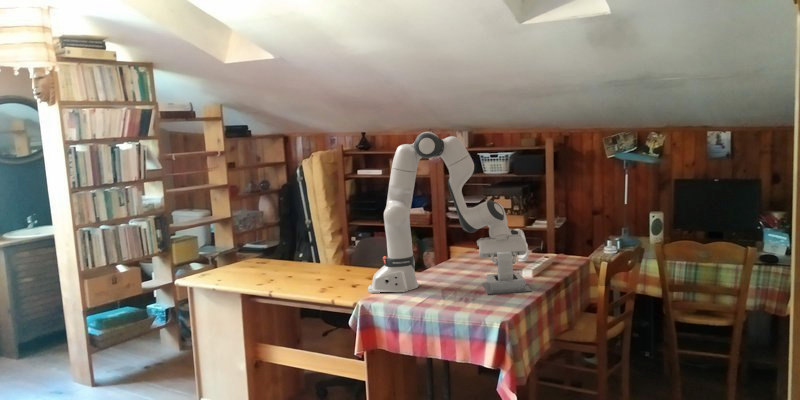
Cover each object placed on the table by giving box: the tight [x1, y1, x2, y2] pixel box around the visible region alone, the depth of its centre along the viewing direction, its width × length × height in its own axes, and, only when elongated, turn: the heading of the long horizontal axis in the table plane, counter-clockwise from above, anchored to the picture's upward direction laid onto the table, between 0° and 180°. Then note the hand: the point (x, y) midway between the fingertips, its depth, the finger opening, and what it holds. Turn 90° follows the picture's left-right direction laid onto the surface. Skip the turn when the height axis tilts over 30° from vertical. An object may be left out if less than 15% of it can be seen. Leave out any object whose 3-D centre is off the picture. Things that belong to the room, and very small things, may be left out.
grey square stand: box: [481, 271, 532, 296], centre depth 275 cm, size 18×18×5 cm
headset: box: [512, 228, 530, 262], centre depth 312 cm, size 20×7×18 cm, turn 140°
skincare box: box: [496, 251, 514, 281], centre depth 274 cm, size 6×4×12 cm
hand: (505, 263), depth 273 cm, fingers closed on skincare box, 6 cm apart
